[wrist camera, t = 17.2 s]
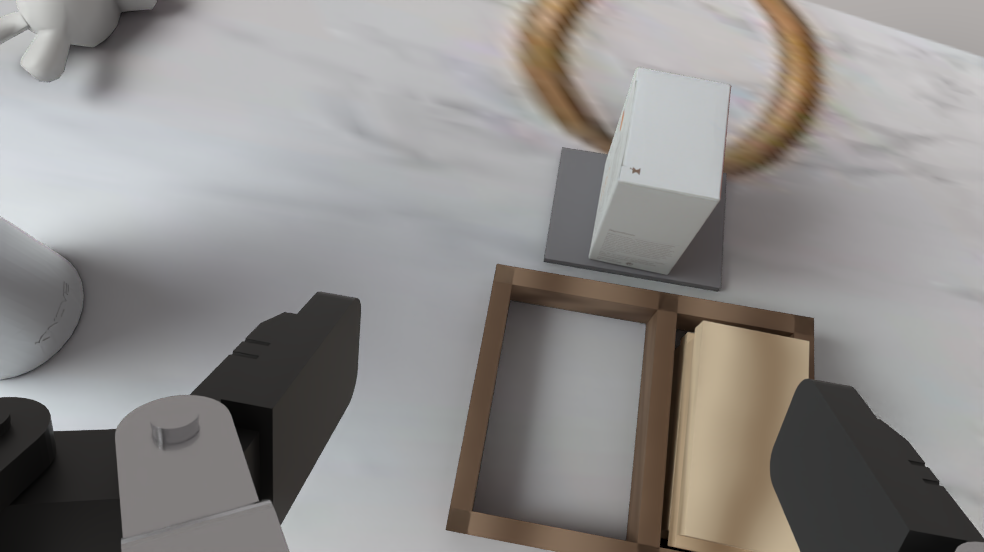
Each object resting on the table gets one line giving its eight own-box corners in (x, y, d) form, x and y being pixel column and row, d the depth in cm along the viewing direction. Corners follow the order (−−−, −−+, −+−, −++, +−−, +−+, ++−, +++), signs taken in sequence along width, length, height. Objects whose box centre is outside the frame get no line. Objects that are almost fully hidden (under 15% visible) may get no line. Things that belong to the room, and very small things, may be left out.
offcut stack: (653, 544, 37) (683, 547, 32) (674, 344, 42) (703, 317, 36) (755, 566, 37) (804, 574, 31) (765, 363, 41) (809, 337, 36)
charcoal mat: (543, 261, 44) (544, 258, 43) (561, 151, 47) (562, 147, 46) (717, 291, 43) (720, 288, 42) (723, 177, 46) (726, 173, 46)
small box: (667, 277, 43) (722, 204, 33) (585, 260, 43) (616, 182, 33) (680, 177, 45) (735, 81, 36) (604, 161, 46) (637, 62, 36)
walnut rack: (448, 529, 37) (445, 530, 34) (495, 280, 43) (496, 263, 40) (790, 596, 36) (816, 602, 33) (791, 331, 42) (813, 318, 39)
